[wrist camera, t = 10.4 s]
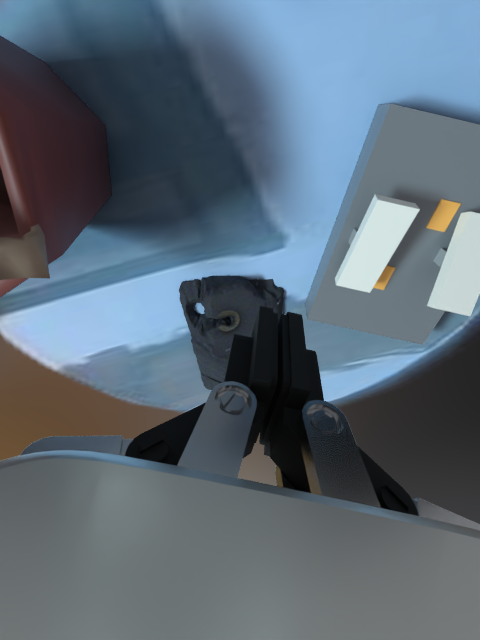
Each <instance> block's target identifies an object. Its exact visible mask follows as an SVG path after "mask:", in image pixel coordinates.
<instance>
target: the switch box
mask: <svg viewBox="0 0 480 640" xmlns="http://www.w3.org/2000/svg"><path fill="white" fill-rule="evenodd" d="M375 194H377V195H381V196H385V197H390V198H394V199H399V200H403V201H407V202H412V203H416V205H417V206H418V208H419V209H420V210H419V212H418V213H417V215H416V217H415V218H414V220H413V222H412V223H411V225H410V227H409V228H408V230H407V232H406V233H405V235H404V237H403V238H402V240H401V242H400V243H399V245H398V247H397V248H396V250H395V252H394V253H393V255H392V257H391V258H390V260H389V262H388V264H387V265H386V267H385V269H384V270H383V272H382V274H381V275H380V277H379V279H378V280H377V282H376V284H375V285H374V287H373V289H372V290H371V292H370V293H368V292H364V291H359V290H355V289H350V288H346V287H342V286H337V285H336V282H335V277H336V275H337V273H338V271H339V269H340V267H341V264H342V262H343V260H344V258H345V256H346V254H347V252H348V250H349V248H350V246H351V244H352V241H353V239H354V237H355V235H356V233H357V231H358V229H359V227H360V225H361V223H362V220H363V218H364V216H365V214H366V212H367V210H368V208H369V206H370V204H371V202H372V199H373V197H374V195H375ZM470 211H471V212H475V213H479V214H480V125H479V124H475V123H471V122H467V121H463V120H458V119H454V118H450V117H446V116H441V115H437V114H433V113H429V112H424V111H420V110H416V109H412V108H408V107H403V106H399V105H395V104H391V103H390V104H380V105H378V107H377V110H376V113H375V116H374V118H373V121H372V124H371V126H370V129H369V132H368V135H367V137H366V140H365V143H364V145H363V148H362V151H361V153H360V156H359V159H358V162H357V164H356V167H355V170H354V172H353V175H352V178H351V181H350V183H349V186H348V189H347V191H346V194H345V197H344V200H343V202H342V205H341V208H340V210H339V213H338V216H337V219H336V221H335V224H334V227H333V229H332V232H331V235H330V237H329V240H328V243H327V246H326V248H325V251H324V254H323V256H322V259H321V262H320V265H319V267H318V270H317V273H316V275H315V278H314V281H313V284H312V286H311V289H310V292H309V294H308V297H307V300H306V303H305V307H306V314H307V319H309V320H313V321H318V322H322V323H327V324H332V325H336V326H341V327H345V328H350V329H354V330H359V331H363V332H368V333H372V334H377V335H382V336H386V337H391V338H395V339H400V340H404V341H409V342H413V343H418V344H423V343H424V341H425V340H426V339H427V337H428V336H429V334H430V333H431V331H432V330H433V328H434V327H435V326H436V324H437V323H438V321H439V320H440V318H441V317H442V315H443V314H444V312H445V311H444V310H440V309H435V308H432V307H429V306H427V304H428V301H429V299H430V296H431V293H432V291H433V288H434V285H435V282H436V280H437V277H438V274H439V271H440V269H441V266H442V263H443V261H444V258H445V255H446V252H447V250H448V247H449V244H450V241H451V239H452V236H453V233H454V231H455V228H456V225H457V222H458V220H459V217H460V214H461V213H464V212H470Z"/></svg>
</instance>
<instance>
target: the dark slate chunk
mask: <svg viewBox="0 0 480 640" xmlns="http://www.w3.org/2000/svg"><path fill="white" fill-rule="evenodd" d="M179 292H180V301H181V304H182V307H183V310H184V315H185V318H186V321H187V324H188V327H189V330H190V332H191V336H192V339H191V342H192V344H193V350H194V353H195V355H196V357H197V362H198V364H199V369H200V371H201V378H202V381H203V383H204V386H205V387H206V388H207V389H209V390H213V388H214V387H215V386H216V385H218V384H219V383H223V382H224V377H225V372H226V368H227V363H228V358H229V354H230V349H231V345H232V340H233V336H234V334H238V335H243V336H248V337H251V335H252V331H253V327H254V324H255V320H256V316H257V312H258V309H259V306H264V307H268V308H273V312H274V313H278V323H279V320H280V317H281V315H282V305H283V293H284V290H283V289H282V288H280V287H278V288H277V287H276V286H275V285H274V283H273V279H269V280H248V279H245V278H243V277H240V276H209V277H208V278H207V279H204V278H202V279H201V280H196V279H194V281H187V282H184V281H183V282H182V283H181V286H180V289H179ZM196 302H197V303H201V304H202V305H203V306H204V308H205V310H204V312H205V314H197V313H196V312H195V311H194V310H193V306H194V304H195V303H196Z"/></svg>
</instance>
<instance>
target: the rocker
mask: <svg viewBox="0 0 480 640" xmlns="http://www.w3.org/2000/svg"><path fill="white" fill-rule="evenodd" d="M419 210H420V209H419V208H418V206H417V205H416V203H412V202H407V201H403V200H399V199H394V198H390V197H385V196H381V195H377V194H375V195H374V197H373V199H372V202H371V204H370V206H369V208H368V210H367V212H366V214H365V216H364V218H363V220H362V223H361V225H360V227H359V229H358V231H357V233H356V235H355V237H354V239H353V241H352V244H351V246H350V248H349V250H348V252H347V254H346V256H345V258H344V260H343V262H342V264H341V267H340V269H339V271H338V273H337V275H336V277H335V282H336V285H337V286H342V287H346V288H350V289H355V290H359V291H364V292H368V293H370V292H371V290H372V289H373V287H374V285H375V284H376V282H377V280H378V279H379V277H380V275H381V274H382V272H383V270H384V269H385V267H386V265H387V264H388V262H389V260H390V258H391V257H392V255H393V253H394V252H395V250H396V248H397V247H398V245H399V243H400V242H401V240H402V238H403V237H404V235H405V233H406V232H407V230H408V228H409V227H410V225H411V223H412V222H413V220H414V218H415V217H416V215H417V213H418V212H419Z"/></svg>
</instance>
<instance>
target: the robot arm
mask: <svg viewBox="0 0 480 640" xmlns="http://www.w3.org/2000/svg"><path fill="white" fill-rule="evenodd" d="M259 433H260V444H262V445H265V447H264V455H267V456H270V457H271V459H272V460H273V461H274V462H275V464H276V467H275V475H276V483H277V486H273V485H268V484H263V483H258V482H253V481H249V480H244V479H239V478H237V477H238V473H239V469H240V466H241V462H242V459H243V458H244V457H246V456H247V455H249V454H250V453H251V451H252V449H253V446H254V443H256V441H257V438H258V435H259ZM0 640H480V524H477V523H475V522H473V521H471V520H468V519H466V518H463V517H461V516H459V515H457V514H454V513H452V512H450V511H447V510H445V509H443V508H440V507H438V506H436V505H433V504H431V503H429V502H427V501H424V500H422V499H420V498H416V499H415V500H413V499H411V497H410V496H409V494H408V493H407V492H406V491H405V490H404V489H403V488H402V487H401V486H400V485H399V484H398V483H397V482H396V481H394V480H393V479H392V478H391V477H390V476H389V475H388V474H387V473H386V472H385V471H384V470H383V469H382V468H380V467H379V466H378V465H377V464H376V463H375V462H374V461H373V460H372V459H371V458H370V457H369V456H368V455H367V454H366V453H364V452H363V451H362V450H361V449H360V448H359V447H358V446H357V444H356V442H355V439H354V436H353V434H352V431H351V428H350V426H349V424H348V421H347V419H346V417H345V415H344V414H343V413H342V412H341V411H340V410H339V409H338V408H337V407H336V406H334V405H333V404H331V403H328V402H326V401H324V398H323V392H322V386H321V379H320V373H319V367H318V361H317V355H316V352H315V351H312V350H307V349H306V345H305V336H304V328H303V319H302V315H300V314H295V313H291V312H287V314H286V315H283V314H282V315H281V317H280V320H279V323H278V313H274V312H273V308H268V307H264V306H259V309H258V312H257V316H256V320H255V324H254V327H253V331H252V335H251V337H248V336H243V335H238V334H234V336H233V340H232V345H231V349H230V354H229V358H228V363H227V368H226V372H225V377H224V382H223V383H219V384H218V385H216V386H215V387H214V388H213V390H212V391H211V393H210V395H209V397H208V399H207V401H206V403H204V404H202V405H200V406H198V407H196V408H194V409H191V410H189V411H187V412H185V413H183V414H181V415H179V416H177V417H175V418H173V419H171V420H169V421H167V422H165V423H163V424H160V425H158V426H157V427H154V428H152V429H150V430H148V431H146V432H144V433H142V434H140V435H139V436H137V437H136V438H134V439H123V436H52V437H46V438H42V439H40V440H38V441H35V442H33V443H32V444H30V445H29V446H28V447H27V448H26V449H24V451H23V452H22V454H21V455H20V456H16V457H12V458H9V459H5V460H2V461H0Z"/></svg>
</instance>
